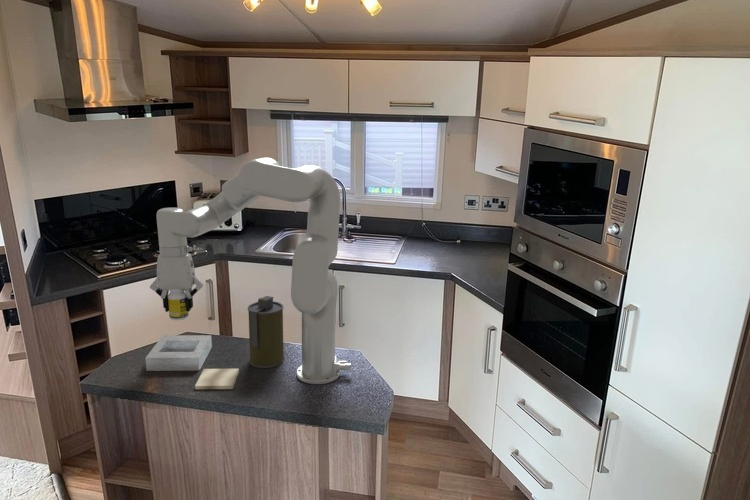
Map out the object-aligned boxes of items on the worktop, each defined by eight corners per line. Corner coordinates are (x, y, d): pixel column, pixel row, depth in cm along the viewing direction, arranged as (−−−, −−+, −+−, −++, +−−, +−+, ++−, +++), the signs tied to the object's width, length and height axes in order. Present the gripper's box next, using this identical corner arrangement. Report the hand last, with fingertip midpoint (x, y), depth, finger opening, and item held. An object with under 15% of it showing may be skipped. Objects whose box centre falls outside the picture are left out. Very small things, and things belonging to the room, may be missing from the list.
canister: (263, 350, 170) (261, 290, 165) (290, 357, 166) (290, 296, 161) (241, 364, 161) (238, 301, 156) (270, 372, 157) (268, 307, 152)
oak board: (239, 371, 156) (239, 368, 156) (232, 388, 147) (232, 385, 146) (203, 371, 156) (203, 368, 155) (195, 389, 146) (195, 386, 146)
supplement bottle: (182, 321, 157) (180, 289, 155) (165, 320, 158) (163, 288, 156) (192, 315, 162) (190, 284, 160) (176, 313, 163) (173, 282, 161)
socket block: (211, 346, 172) (211, 335, 171) (199, 370, 156) (198, 357, 155) (163, 347, 171) (162, 335, 170) (146, 370, 155) (145, 358, 154)
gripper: (207, 247, 159) (211, 305, 164) (147, 247, 158) (153, 306, 163) (200, 254, 152) (205, 314, 157) (138, 254, 151) (144, 315, 155)
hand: (178, 309), depth 160 cm, fingers closed on supplement bottle, 5 cm apart
